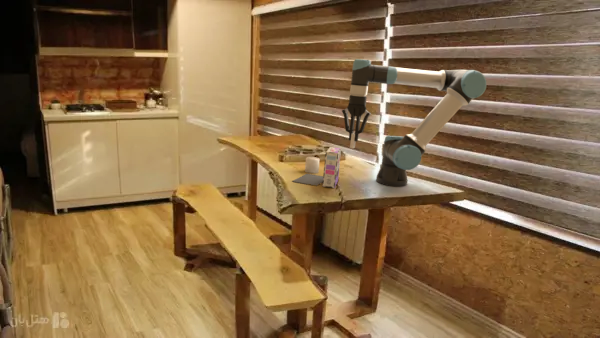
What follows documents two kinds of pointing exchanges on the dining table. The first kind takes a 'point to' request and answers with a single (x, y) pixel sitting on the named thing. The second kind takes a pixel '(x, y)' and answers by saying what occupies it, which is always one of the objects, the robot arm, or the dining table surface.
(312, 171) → the cream capsule shape
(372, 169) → the dining table surface
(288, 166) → the dining table surface
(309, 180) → the mat
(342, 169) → the dining table surface
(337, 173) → the candy box
